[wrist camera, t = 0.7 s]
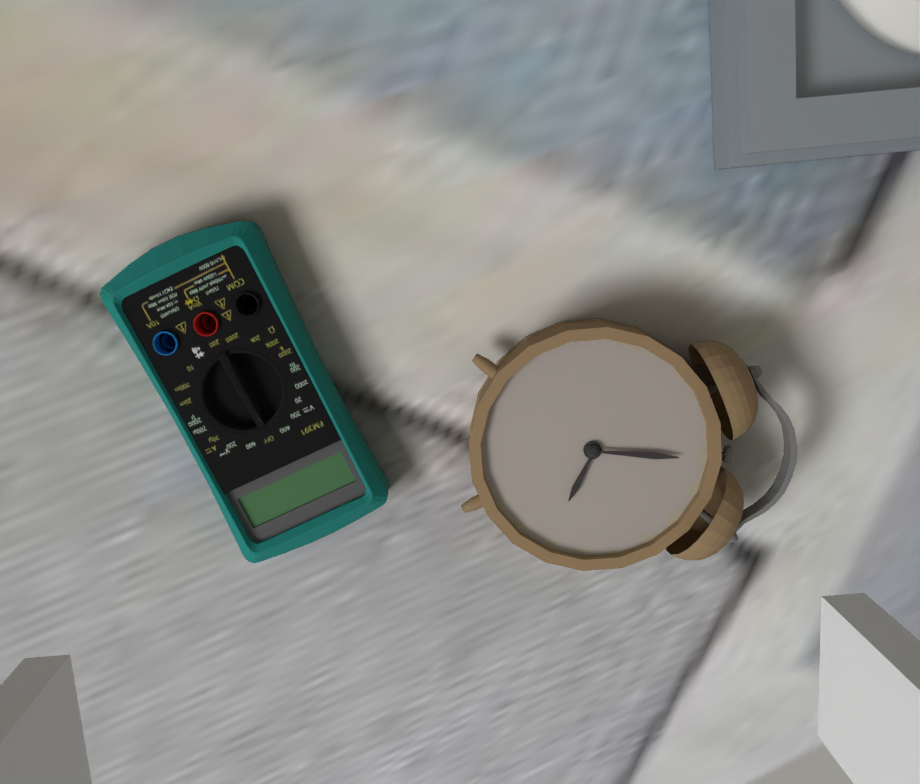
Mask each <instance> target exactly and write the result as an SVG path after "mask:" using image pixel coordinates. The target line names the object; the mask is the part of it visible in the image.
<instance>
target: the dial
mask: <svg viewBox="0 0 920 784" xmlns="http://www.w3.org/2000/svg"><path fill="white" fill-rule="evenodd" d="M838 1H839V2H840V4H841V5H842V7H843V8H844V9H845V10H846V11H847V12H848V14H849V15H850V16H851V17H852V18H853V19H854V21H855V22H856V23H858V24H859V25H860V26H861V27H862V28H863V29H865V30H866V31H867V32H868V33H869V34H870V35H872V36H873V37H875V38H877V39H878V40H880V41H881V42H883V43H885V44H886V45H888V46H890V47H892V48H895V49H897V50H899V51H902V52H904V53H907V54H910V55H914V56H918V57H920V0H838Z"/></svg>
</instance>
